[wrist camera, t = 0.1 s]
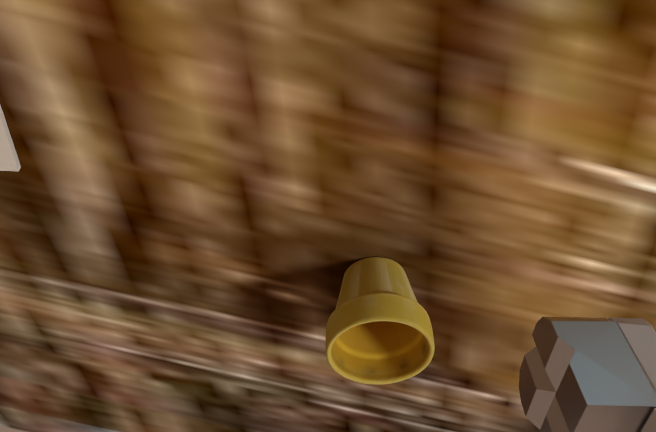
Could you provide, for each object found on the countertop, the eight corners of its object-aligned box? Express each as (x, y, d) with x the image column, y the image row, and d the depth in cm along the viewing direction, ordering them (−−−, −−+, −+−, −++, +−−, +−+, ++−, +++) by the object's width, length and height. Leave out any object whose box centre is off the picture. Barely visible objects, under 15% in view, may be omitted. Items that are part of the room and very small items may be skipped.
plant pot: (304, 272, 65) (303, 350, 58) (386, 227, 61) (395, 304, 54) (362, 321, 71) (367, 397, 63) (440, 282, 67) (456, 359, 59)
